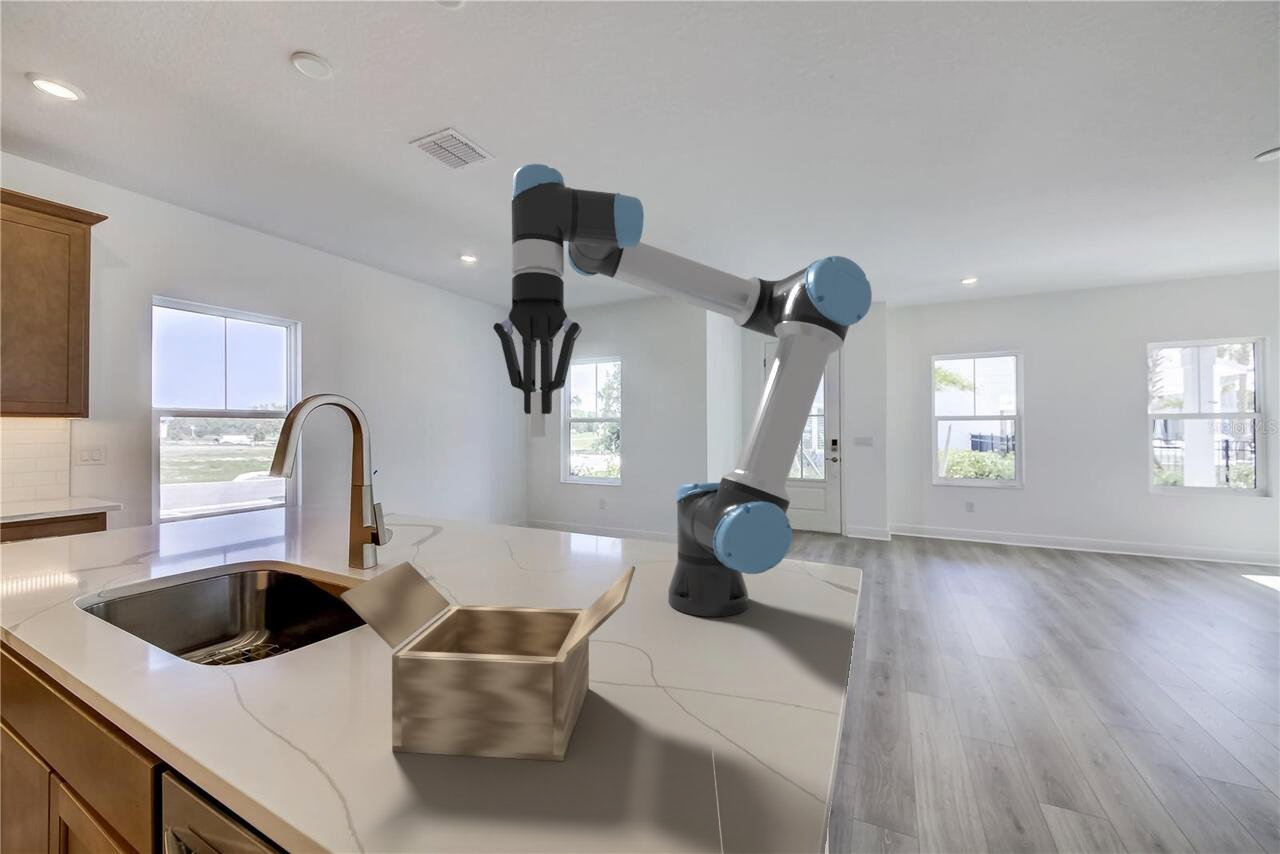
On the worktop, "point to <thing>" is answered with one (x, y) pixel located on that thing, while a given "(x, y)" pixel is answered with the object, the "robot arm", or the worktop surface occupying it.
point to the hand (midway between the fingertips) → (538, 436)
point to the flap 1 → (396, 603)
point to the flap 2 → (602, 609)
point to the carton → (491, 683)
